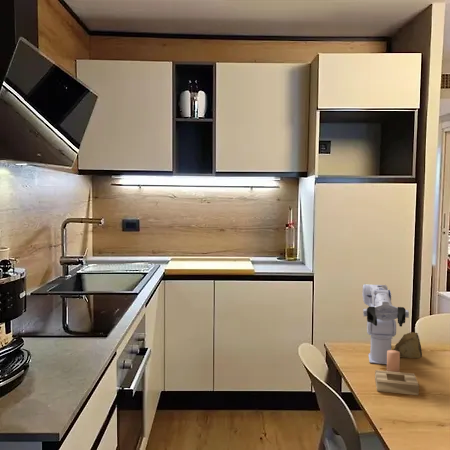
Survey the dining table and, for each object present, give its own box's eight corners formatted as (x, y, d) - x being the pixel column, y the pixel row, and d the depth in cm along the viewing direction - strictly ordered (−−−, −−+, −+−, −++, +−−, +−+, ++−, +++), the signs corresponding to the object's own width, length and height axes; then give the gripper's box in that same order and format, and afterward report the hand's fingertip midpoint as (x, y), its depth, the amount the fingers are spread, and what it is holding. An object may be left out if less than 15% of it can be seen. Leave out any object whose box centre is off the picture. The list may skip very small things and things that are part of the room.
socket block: (375, 379, 157) (375, 370, 156) (413, 382, 154) (414, 373, 154) (377, 391, 147) (377, 381, 147) (418, 395, 144) (418, 385, 144)
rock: (387, 352, 177) (416, 353, 171) (389, 330, 181) (417, 331, 176) (396, 363, 184) (423, 364, 178) (397, 342, 188) (424, 343, 183)
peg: (386, 372, 162) (386, 349, 162) (398, 373, 161) (399, 350, 161) (387, 376, 159) (387, 353, 158) (399, 378, 158) (400, 354, 157)
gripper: (362, 295, 167) (365, 310, 155) (406, 296, 164) (412, 312, 151) (362, 314, 169) (365, 331, 156) (405, 315, 166) (412, 332, 153)
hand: (388, 323), depth 154 cm, fingers open, 7 cm apart
